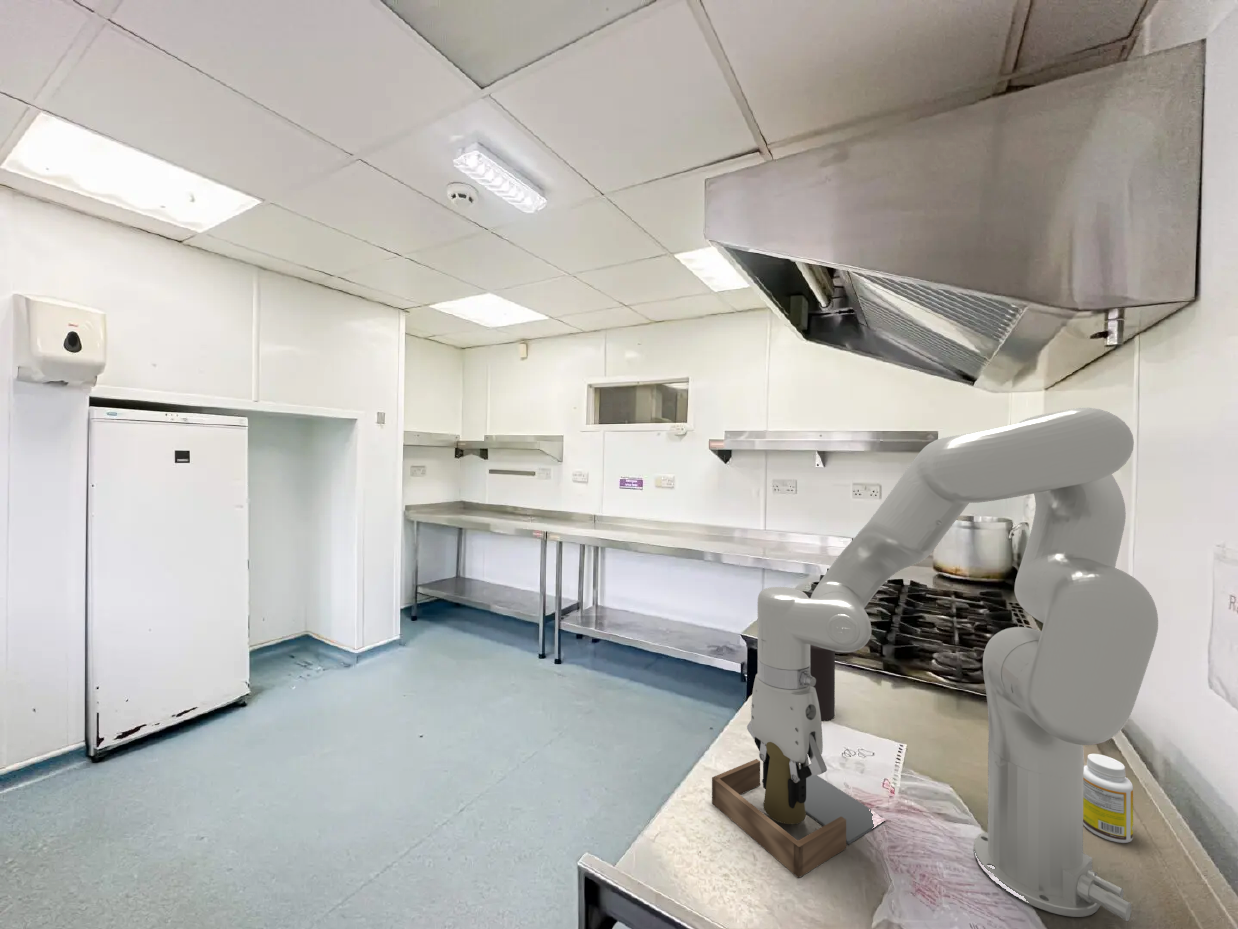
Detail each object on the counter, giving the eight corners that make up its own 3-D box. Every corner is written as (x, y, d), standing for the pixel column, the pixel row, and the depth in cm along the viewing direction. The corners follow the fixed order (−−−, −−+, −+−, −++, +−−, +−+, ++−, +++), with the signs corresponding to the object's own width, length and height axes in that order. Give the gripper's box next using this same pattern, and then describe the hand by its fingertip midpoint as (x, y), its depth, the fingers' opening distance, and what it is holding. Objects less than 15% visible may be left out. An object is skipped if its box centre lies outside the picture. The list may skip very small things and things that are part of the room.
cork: (799, 797, 77) (799, 726, 77) (811, 825, 71) (810, 748, 71) (759, 795, 78) (759, 724, 78) (767, 823, 72) (767, 746, 72)
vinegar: (836, 710, 108) (837, 618, 108) (832, 724, 102) (832, 627, 102) (803, 703, 112) (804, 613, 112) (797, 716, 106) (798, 622, 106)
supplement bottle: (1102, 816, 76) (1102, 749, 76) (1144, 844, 70) (1144, 771, 70) (1069, 818, 75) (1069, 751, 75) (1109, 847, 70) (1109, 773, 70)
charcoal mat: (885, 821, 75) (885, 818, 75) (848, 844, 70) (848, 841, 70) (798, 765, 88) (798, 763, 88) (762, 782, 84) (762, 779, 84)
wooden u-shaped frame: (846, 848, 69) (846, 819, 69) (798, 878, 64) (798, 847, 64) (756, 782, 83) (756, 759, 83) (711, 802, 78) (712, 777, 78)
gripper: (850, 688, 69) (850, 820, 69) (759, 650, 84) (759, 759, 84) (815, 701, 65) (815, 841, 65) (725, 659, 80) (726, 774, 80)
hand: (784, 794), depth 74 cm, fingers closed on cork, 4 cm apart
